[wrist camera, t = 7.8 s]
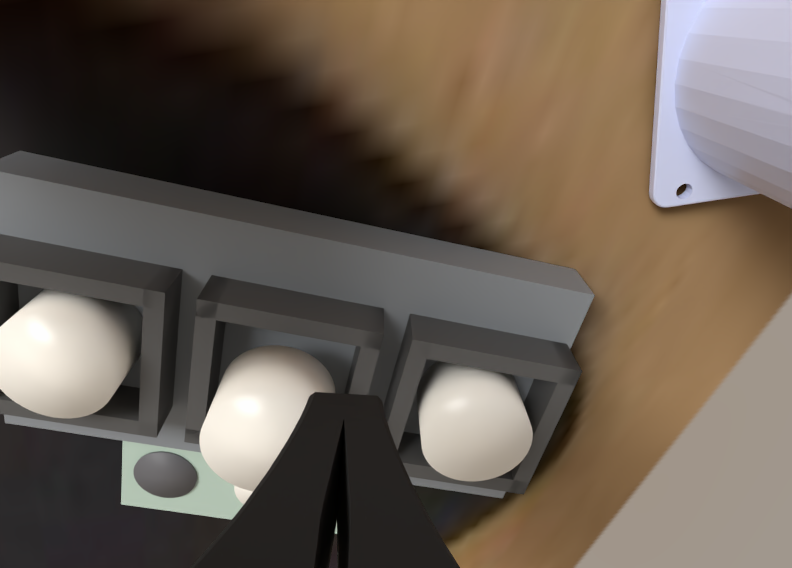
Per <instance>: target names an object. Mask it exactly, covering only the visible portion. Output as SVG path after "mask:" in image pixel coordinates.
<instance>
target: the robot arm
mask: <svg viewBox="0 0 792 568" xmlns="http://www.w3.org/2000/svg"><path fill="white" fill-rule="evenodd" d="M683 184H686V186H687V187H686V190H685V191H684V192H683V193H682V194H680V195H676V191H677V189H678V188H679V187H680V186H681V185H683ZM754 194H763V195H765V196H767V197H769V198H771V199H773V200H775V201H777V202H779V203H781V204H783V205H785V206H787V207H789V208H791V209H792V0H661V13H660V28H659V44H658V60H657V76H656V92H655V107H654V123H653V139H652V155H651V170H650V186H649V196H650V199H651V200H652V202H653V203H655V204H656V205H658V206H660V207H666V208H667V207H674V206H681V205H688V204H694V203H701V202H708V201H714V200H721V199H728V198H734V197H741V196H748V195H754ZM336 523H337V559H338V568H460V567H459V565H458V564H457V562H456V561H455V559H454V558H453V556H452V554H451V553H450V551H449V550H448V548H447V547H446V545H445V543H444V542H443V540H442V538H441V537H440V535H439V533H438V532H437V530H436V528H435V526H434V525H433V523H432V521H431V519H430V517H429V516H428V514H427V512H426V510H425V508H424V506H423V504H422V502H421V501H420V499H419V497H418V495H417V493H416V491H415V489H414V487H413V485H412V482H411V480H410V478H409V476H408V474H407V471H406V469H405V467H404V465H403V462H402V460H401V458H400V456H399V453H398V451H397V448H396V446H395V443H394V440H393V437H392V435H391V432H390V429H389V426H388V423H387V419H386V416H385V412H384V408H383V402H382V400H381V399H380V398H379V397H378V396H376V395H359V394H342V393H325V392H314V393H313V394H312V395H310V396H309V398H308V401H307V404H306V406H305V408H304V410H303V413H302V415H301V417H300V419H299V421H298V422H297V424H296V426H295V428H294V430H293V432H292V433H291V435H290V437H289V439H288V440H287V442H286V444H285V445H284V447H283V448H282V450H281V451H280V453H279V455H278V456H277V458H276V459H275V461H274V463H273V464H272V466H271V467H270V469H269V470H268V472H267V473H266V475H265V476H264V477H263V479H262V480H261V482H260V483H259V484H258V486H257V487H256V488H255V490H254V491H253V493H252V494H251V495H250V497H249V498H248V499H247V501H246V502H245V504H244V505H243V506H242V508H241V509H240V510H239V511H238V513H237V514H236V515H235V516H234V518H233V519H232V520H231V521H230V523H229V524H228V525H227V526H226V528H225V529H224V530H223V531H222V532H221V534H220V535H219V536H218V537H217V538H216V539H215V540H214V542H213V543H212V544H211V545H210V546H209V547H208V549H207V550H206V551H205V552H204V553H203V554H202V555H201V556H200V557H199V559H198V560H197V561H196V562H195V563H194V564H193V565H192V566H191V567H190V568H329V564H330V558H331V552H332V546H333V541H334V535H335V529H336Z"/></svg>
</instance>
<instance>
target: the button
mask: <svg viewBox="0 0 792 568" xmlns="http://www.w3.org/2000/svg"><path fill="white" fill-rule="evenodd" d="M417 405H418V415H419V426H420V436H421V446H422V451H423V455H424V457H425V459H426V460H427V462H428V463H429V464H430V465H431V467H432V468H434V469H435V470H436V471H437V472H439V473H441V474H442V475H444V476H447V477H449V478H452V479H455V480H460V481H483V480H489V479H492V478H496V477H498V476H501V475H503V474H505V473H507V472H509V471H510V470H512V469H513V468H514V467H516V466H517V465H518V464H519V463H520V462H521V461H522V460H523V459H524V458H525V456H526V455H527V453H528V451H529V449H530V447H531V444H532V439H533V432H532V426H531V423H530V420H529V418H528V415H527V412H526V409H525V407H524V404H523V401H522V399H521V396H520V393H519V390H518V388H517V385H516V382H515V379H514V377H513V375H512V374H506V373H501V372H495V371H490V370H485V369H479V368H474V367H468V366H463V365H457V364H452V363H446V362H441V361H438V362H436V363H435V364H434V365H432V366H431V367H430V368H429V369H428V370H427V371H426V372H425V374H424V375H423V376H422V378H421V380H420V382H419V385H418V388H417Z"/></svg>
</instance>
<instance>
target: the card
mask: <svg viewBox="0 0 792 568" xmlns="http://www.w3.org/2000/svg"><path fill="white" fill-rule="evenodd" d="M252 493H253V491H249V490H245V489H242V488H239V487H237V486H234V485H232V484H230V483H228V482H227V481H225V480H224V479H222V478H221V477H219V476H218V475H217V474H216V473H215V472H214V471H213V470H212V469H211V468H210V467H209V466H208V464H207V463H206V461H205V459H204V457H203V455H202V453H201V452H194V451H188V450H181V449H174V448H168V447H161V446H155V445H148V444H141V443H135V442H128V441H123V450H122V495H121V504H123V505H130V506H138V507H145V508H152V509H160V510H167V511H174V512H181V513H189V514H196V515H203V516H210V517H218V518H225V519H233V518H234V516H235V515H236V514H237V513H238V511H239V510H240V509H241V508H242V506H243V505H244V504H245V502H246V501H247V499H248V498H249V497H250V495H251V494H252ZM335 534H337V523H336V529H335Z"/></svg>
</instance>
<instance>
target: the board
mask: <svg viewBox="0 0 792 568" xmlns="http://www.w3.org/2000/svg"><path fill="white" fill-rule="evenodd" d="M44 289H49V290H54V291H60V292H65V293H71V294H76V295H82V296H87V297H93V298H98V299H103V300H109V301H114V302H120V303H125V304H131V305H134V306H135V307H136V308H137V310H138V311H139V313H140V314H141V316H142V318H143V320H142V346H141V355H140V356H139V358H138V359H137V361H136V362H135V364H134V365H133V367H132V368H131V369H130V371H129V372H128V374H127V375H126V377H125V378H124V380H123V381H122V383H121V384H120V386H119V387H118V389H117V390H116V392H115V393H114V395H113V396H112V397H111V399H110V400H109V402H108V403H107V404H106V405H105V406H104V407H103V408H101V409H100V410H98V411H97V412H95V413H93V414H90V415H87V416H84V417H79V418H54V417H49V416H45V415H41V414H38V413H35V412H33V411H30V410H28V409H26V408H24V407H22V406H21V405H19V404H17V403H16V402H14V401H13V400H12V399H10V398H9V397H8V396H7V395H6V394H5V393H4V392H2V390H1V389H0V414H4V418H5V423H10V424H16V425H23V426H30V427H36V428H43V429H49V430H56V431H63V432H69V433H76V434H82V435H89V436H95V437H102V438H109V439H115V440H122V441H128V442H135V443H141V444H148V445H155V446H161V447H168V448H174V449H181V450H188V451H194V452H201V450H200V443H199V437H200V431H201V428H202V426H203V423H204V421H205V418H206V416H207V414H208V411H209V409H210V406H211V404H212V402H213V399H214V397H215V394H216V392H217V390H218V387H219V385H220V382H221V380H222V378H223V375H224V373H225V371H226V369H227V367H228V366H229V365H230V363H231V362H232V361H233V360H234V359H235V358H237V357H238V356H239V355H241V354H242V353H244V352H246V351H248V350H251V349H254V348H257V347H261V346H269V345H280V346H288V347H292V348H296V349H299V350H301V351H304V352H306V353H308V354H310V355H311V356H313V357H314V358H316V359H317V360H318V361H319V362H321V363H322V364H323V366H324V367H325V368H326V369H327V370H328V372H329V373H330V375H331V377H332V379H333V382H334V385H335V393H342V394H359V395H376V396H378V397H379V398H380V399H381V400H382V402H383V408H384V412H385V416H386V419H387V423H388V426H389V429H390V432H391V435H392V437H393V440H394V443H395V446H396V448H397V451H398V453H399V456H400V458H401V460H402V462H403V465H404V467H405V469H406V471H407V474H408V476H409V478H410V480H411V482H412V485H418V486H424V487H431V488H437V489H444V490H451V491H457V492H464V493H470V494H477V495H484V496H490V497H497V498H503V496H504V494H505V492H512V493H518V494H524V493H525V490H526V488H527V486H528V484H529V482H530V480H531V478H532V476H533V474H534V471H535V469H536V467H537V465H538V463H539V461H540V459H541V457H542V455H543V453H544V450H545V448H546V446H547V444H548V442H549V440H550V438H551V436H552V434H553V431H554V429H555V427H556V425H557V423H558V421H559V419H560V417H561V415H562V413H563V410H564V408H565V406H566V404H567V402H568V400H569V398H570V396H571V394H572V391H573V389H574V387H575V385H576V383H577V381H578V379H579V377H580V375H581V373H582V370H581V369H580V367H579V365H578V363H577V361H576V360H575V358H574V356H573V354H572V352H571V351H570V349H571V346H572V344H573V342H574V340H575V338H576V335H577V333H578V331H579V329H580V326H581V324H582V322H583V320H584V318H585V315H586V313H587V311H588V309H589V307H590V304H591V302H592V300H593V298H594V296H595V295H594V294H593V292H592V291H591V290H590V288H589V287H588V286H587V284H586V283H585V282H584V280H583V279H582V278H581V276H580V275H579V274H578V272H577V271H576V270H575V269H572V268H567V267H562V266H558V265H553V264H548V263H544V262H539V261H534V260H530V259H525V258H520V257H516V256H511V255H506V254H502V253H497V252H492V251H487V250H483V249H478V248H473V247H469V246H464V245H459V244H455V243H450V242H445V241H441V240H436V239H431V238H427V237H422V236H417V235H413V234H408V233H403V232H399V231H394V230H389V229H385V228H380V227H375V226H370V225H366V224H361V223H356V222H352V221H347V220H342V219H338V218H333V217H328V216H324V215H319V214H314V213H310V212H305V211H300V210H296V209H291V208H286V207H282V206H277V205H272V204H268V203H263V202H258V201H253V200H249V199H244V198H239V197H235V196H230V195H225V194H221V193H216V192H211V191H207V190H202V189H197V188H193V187H188V186H183V185H179V184H174V183H169V182H165V181H160V180H155V179H151V178H146V177H141V176H137V175H132V174H127V173H122V172H118V171H113V170H108V169H104V168H99V167H94V166H90V165H85V164H80V163H76V162H71V161H66V160H62V159H57V158H52V157H48V156H43V155H38V154H34V153H29V152H24V151H18V152H15V153H13V154H10V155H8V156H6V157H3V158H1V159H0V326H2V325H3V324H4V323H5V322H6V321H7V320H9V319H10V318H11V317H12V316H13V315H14V314H16V313H17V312H18V311H19V310H20V309H22V308H23V307H24V306H25V305H26V304H27V303H29V302H30V301H31V300H32V299H33V298H34V297H36V296H37V295H38V294H39V293H40V292H41V291H43V290H44ZM438 361H441V362H446V363H452V364H457V365H463V366H468V367H474V368H479V369H485V370H490V371H495V372H501V373H506V374H512V375H513V377H514V379H515V382H516V385H517V388H518V390H519V393H520V396H521V399H522V401H523V404H524V407H525V409H526V412H527V415H528V418H529V420H530V423H531V426H532V432H533V439H532V444H531V447H530V449H529V451H528V453H527V455H526V456H525V458H524V459H523V460H522V461H521V462H520V463H519V464H518V465H517V466H516V467H514V468H513V469H512V470H510V471H509V472H507V473H505V474H503V475H501V476H498V477H496V478H492V479H489V480H483V481H460V480H455V479H452V478H449V477H447V476H444V475H442V474H441V473H439V472H437V471H436V470H435V469H434V468H432V467H431V465H430V464H429V463H428V462H427V460H426V459H425V457H424V455H423V451H422V446H421V436H420V426H419V415H418V405H417V388H418V385H419V382H420V380H421V378H422V376H423V375H424V374H425V372H426V371H427V370H428V369H429V368H430V367H431V366H432V365H434V364H435V363H436V362H438ZM201 453H202V452H201Z"/></svg>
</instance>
